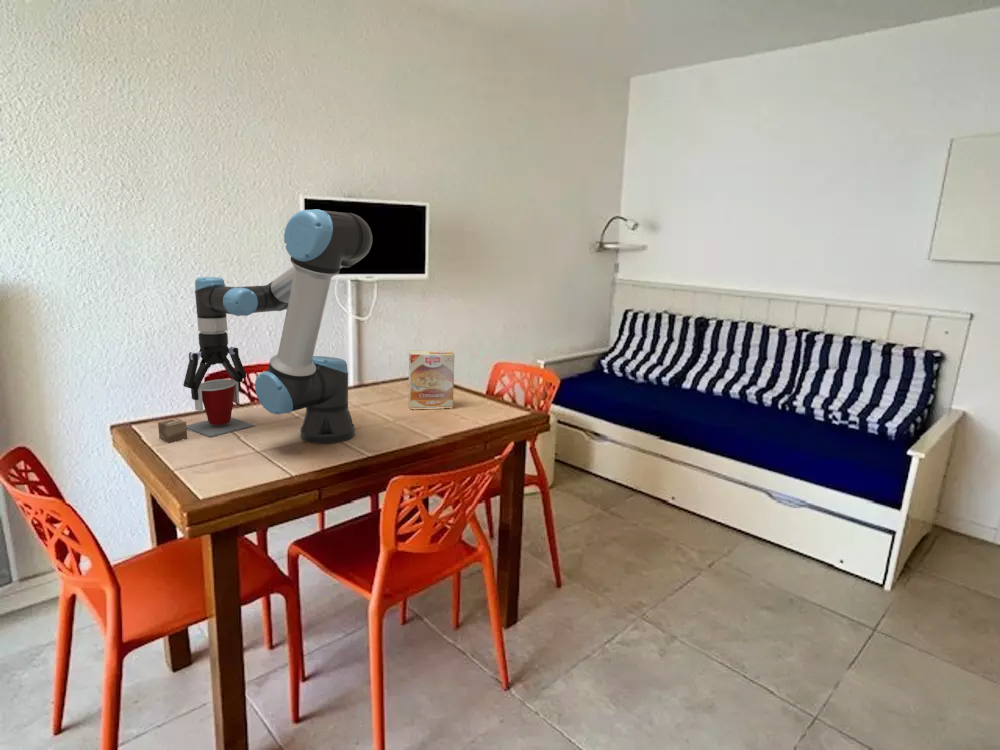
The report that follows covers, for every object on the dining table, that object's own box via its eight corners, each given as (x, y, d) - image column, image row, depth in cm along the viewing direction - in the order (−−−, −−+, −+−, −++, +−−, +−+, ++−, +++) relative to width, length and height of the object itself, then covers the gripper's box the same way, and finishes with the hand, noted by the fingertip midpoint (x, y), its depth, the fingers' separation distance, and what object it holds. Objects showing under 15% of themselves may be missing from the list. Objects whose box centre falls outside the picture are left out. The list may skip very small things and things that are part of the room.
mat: (254, 426, 176) (254, 424, 176) (210, 437, 165) (210, 436, 165) (226, 417, 184) (226, 415, 184) (182, 427, 172) (182, 426, 172)
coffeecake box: (409, 410, 200) (410, 354, 195) (408, 404, 206) (408, 350, 202) (453, 409, 203) (455, 353, 199) (450, 403, 210) (451, 350, 206)
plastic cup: (193, 421, 174) (190, 381, 171) (230, 414, 181) (228, 377, 179) (206, 430, 167) (203, 389, 164) (244, 423, 174) (242, 383, 171)
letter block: (187, 439, 163) (186, 421, 162) (169, 443, 159) (167, 425, 158) (177, 435, 166) (176, 417, 165) (159, 439, 162) (157, 421, 161)
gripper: (241, 326, 180) (245, 396, 184) (164, 334, 160) (171, 412, 165) (256, 329, 176) (260, 400, 180) (180, 337, 157) (186, 417, 161)
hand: (217, 406), depth 173 cm, fingers closed on plastic cup, 11 cm apart
